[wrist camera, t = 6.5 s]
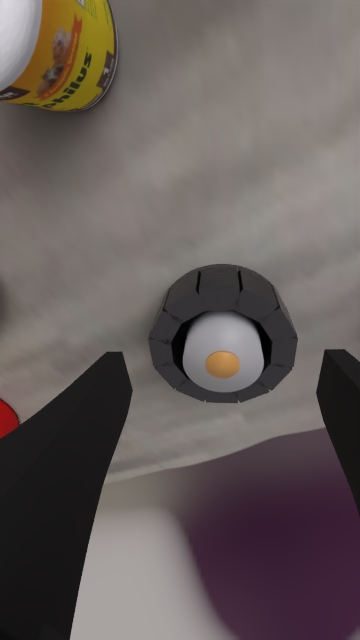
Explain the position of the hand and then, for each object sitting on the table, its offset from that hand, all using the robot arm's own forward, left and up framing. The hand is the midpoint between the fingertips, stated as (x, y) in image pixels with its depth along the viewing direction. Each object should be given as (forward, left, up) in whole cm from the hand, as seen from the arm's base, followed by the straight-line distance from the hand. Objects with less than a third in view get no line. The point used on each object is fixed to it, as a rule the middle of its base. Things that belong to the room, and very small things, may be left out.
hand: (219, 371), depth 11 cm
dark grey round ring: (0, +4, -10) cm, 11 cm away
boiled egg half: (0, +4, -9) cm, 10 cm away
